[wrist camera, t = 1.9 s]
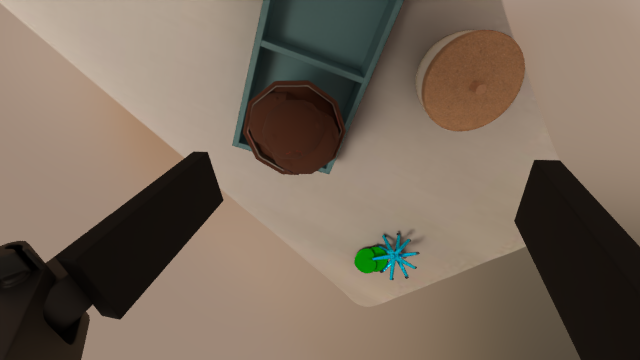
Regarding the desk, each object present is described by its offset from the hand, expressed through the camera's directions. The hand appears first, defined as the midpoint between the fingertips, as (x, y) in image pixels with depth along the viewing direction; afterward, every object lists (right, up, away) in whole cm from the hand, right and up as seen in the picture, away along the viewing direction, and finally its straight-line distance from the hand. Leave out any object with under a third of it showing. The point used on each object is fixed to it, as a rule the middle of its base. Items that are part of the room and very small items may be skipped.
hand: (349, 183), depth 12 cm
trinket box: (+15, +15, +26) cm, 33 cm away
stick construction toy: (+11, -13, +43) cm, 46 cm away
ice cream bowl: (-4, +10, +27) cm, 30 cm away
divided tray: (-2, +16, +25) cm, 29 cm away
